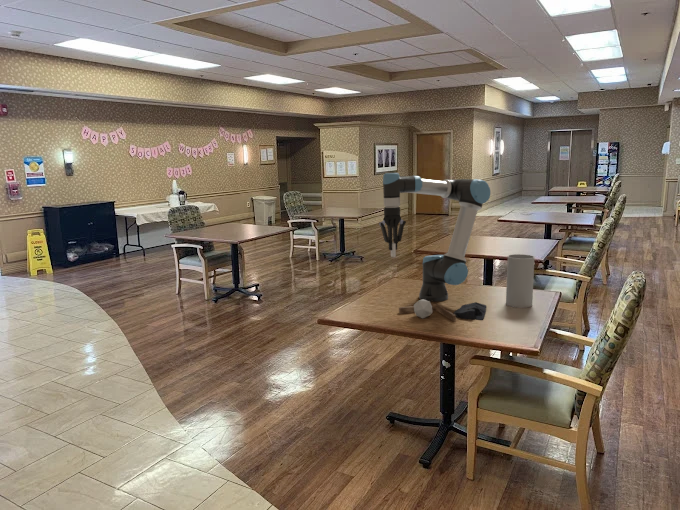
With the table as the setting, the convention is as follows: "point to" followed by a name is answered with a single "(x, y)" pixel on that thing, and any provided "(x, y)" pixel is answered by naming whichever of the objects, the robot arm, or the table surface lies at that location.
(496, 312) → the table surface
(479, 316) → the dark slate chunk
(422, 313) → the die
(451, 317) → the rest corner
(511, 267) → the cylinder vase
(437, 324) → the table surface
